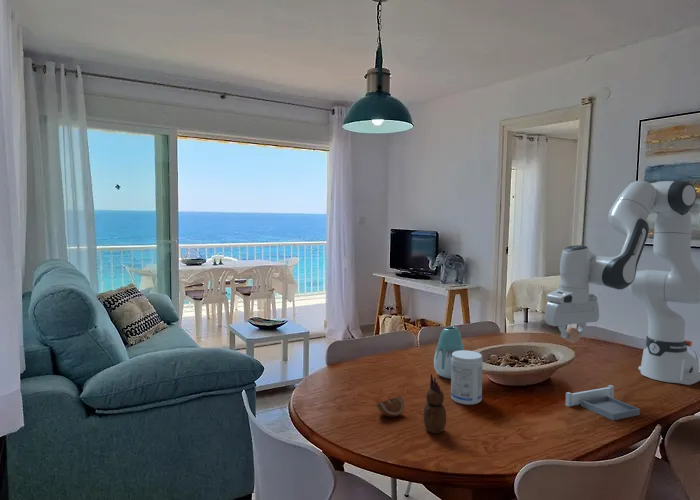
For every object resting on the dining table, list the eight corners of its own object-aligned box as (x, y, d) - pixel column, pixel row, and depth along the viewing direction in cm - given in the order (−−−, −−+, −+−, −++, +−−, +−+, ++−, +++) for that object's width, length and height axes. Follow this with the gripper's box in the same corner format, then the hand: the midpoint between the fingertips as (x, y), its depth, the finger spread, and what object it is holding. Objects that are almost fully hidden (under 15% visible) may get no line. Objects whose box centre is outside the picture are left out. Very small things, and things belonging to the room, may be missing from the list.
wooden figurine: (420, 425, 128) (421, 372, 127) (441, 424, 128) (442, 371, 127) (426, 436, 121) (428, 380, 120) (448, 436, 121) (449, 380, 120)
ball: (571, 340, 155) (571, 325, 155) (583, 343, 150) (584, 328, 150) (559, 341, 153) (560, 326, 153) (572, 345, 149) (572, 329, 148)
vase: (430, 378, 165) (431, 329, 164) (437, 368, 176) (438, 322, 175) (463, 383, 161) (464, 332, 160) (468, 373, 172) (469, 325, 171)
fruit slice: (385, 423, 129) (385, 405, 129) (371, 414, 134) (371, 397, 134) (408, 416, 134) (408, 399, 133) (393, 408, 139) (393, 392, 139)
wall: (610, 397, 150) (610, 384, 149) (613, 398, 149) (614, 386, 148) (565, 405, 143) (565, 392, 142) (568, 406, 141) (569, 393, 141)
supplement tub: (468, 392, 153) (469, 348, 152) (488, 402, 144) (489, 356, 143) (444, 396, 148) (445, 352, 147) (463, 407, 140) (465, 360, 139)
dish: (606, 401, 146) (607, 395, 146) (639, 414, 136) (640, 408, 136) (580, 405, 142) (581, 400, 142) (612, 420, 132) (613, 414, 132)
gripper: (588, 292, 158) (587, 331, 158) (542, 295, 150) (540, 337, 151) (605, 295, 152) (603, 336, 153) (557, 298, 144) (556, 342, 145)
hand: (571, 336), depth 152 cm, fingers closed on ball, 5 cm apart
